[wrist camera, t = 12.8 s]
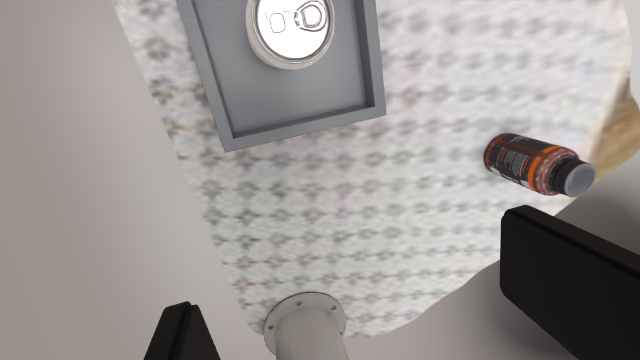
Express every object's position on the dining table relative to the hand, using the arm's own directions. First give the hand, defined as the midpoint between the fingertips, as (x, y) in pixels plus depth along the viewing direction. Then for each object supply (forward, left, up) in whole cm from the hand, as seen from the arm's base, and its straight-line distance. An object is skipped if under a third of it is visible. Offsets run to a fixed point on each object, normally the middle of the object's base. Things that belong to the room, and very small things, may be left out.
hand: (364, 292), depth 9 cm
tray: (+9, -2, -29) cm, 30 cm away
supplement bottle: (-11, -29, -29) cm, 43 cm away
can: (+9, -2, -28) cm, 29 cm away
